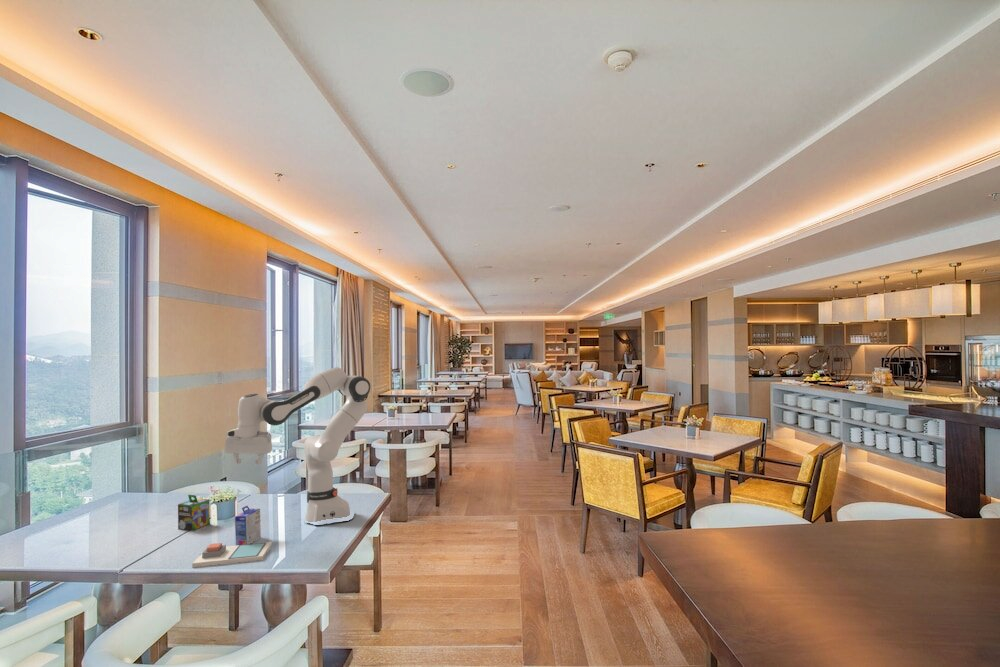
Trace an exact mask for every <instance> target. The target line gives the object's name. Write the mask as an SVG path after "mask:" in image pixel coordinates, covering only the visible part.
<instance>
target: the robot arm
mask: <svg viewBox="0 0 1000 667" xmlns="http://www.w3.org/2000/svg"><path fill="white" fill-rule="evenodd" d="M335 391H338V392H339V393H340V395H342V396H344V397H346V400H345V402H344V404H343V405H342V406H341V407H340V409H338V411H337V412H336V413H335V414H334V415H333V416H332V418H331V419H330V420H329V421H328V422H327V425H326V427H325V429H324V430H323V432H322V434H321V435H320V434H315V435H311V436H309V437H307V439H305V441H304V443H303V450H304V455H305V462H306V470H307V485H308V486H307V491H306V503H307V507H306V513H305V518H304V521H305V520H306V521H308V522H317V521H321V520H326V519H333V518H342V517H347V516H349V515H350V510H351V507H350V504H349V501H347V500H346V499H344V498H343V497H341V496H340V495H338V487H336V488H335V487H334V486H333V485H334V471H333V468H332V465H331V464H332V463H331V461H334V459H336V457H338V453H339V450H340V448H341V446H342V444H343V442H344V441H345V439H346V437H347V436H348V435H349V434H350V432H352V430H353V429H354V427H355V426H356V425H357V424H358V423H359V421H360V420H361V419H362V417H364V414H366V411H367V410H368V402H367V399H368V395H369V393H370V392H371V382H370V381H369V380H368V379H367V378H366V377H364V376H362V375H361V376H360V375H349V374H348V375H347V374H346V372H345V371H344V370H343V369H342V368H341V367H333V368H329V369H326V370H324V371H322V372H319V373H317V374H316V375H314V376H312V377H311V378H310V379H308V380H307V381H305V384H304V388H303V389H302V390H301V391H300V392H298V393H296V394H294V395H293V396H291V397H289V398H288V399H286V400H281V401H276V400H272V399H270V398H269V399H268V398H266V397H264V396H263V395H260V394H259V393H250V394H246V395H243V396H242V397H240V398H239V401H238V406H237V418H238V422H237V428H233V429H231V430H228V431H227V432H225V436H226V438H225V441H224V452H225V453H226V454H232V457H233V459H234V460H235V462H234V463H235V464H236V465H237V464H238V465H239V464H242V458H240V457H239V455H240V454H244V455H245V454H248V455H249V454H250V455H251V454H252V455H253V454H254V455H256V454H257V457H258V458H257V459H256V460H255V465H261V464H262V459H263V458H264V456H265V455H266V454H270V453H272V451H273V442H272V434H271V433H270V432H269V431H261V423H262V422H266V423H267V424H268V425H271V426H279V425H283V423H285V422H286V421H287V420H288V419H289V418H290V417H291V416H292V415H293V414H294V413H295V412H297V411H298V410H300V409H302V408H304V407H305V406H307V405H309V404H310V403H312V402H314V401H317V400H320V399H322V398H324V397H326V396H328V395H330V394H332V393H334V392H335Z"/></svg>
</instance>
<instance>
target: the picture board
mask: <svg viewBox="0 0 1000 667" xmlns="http://www.w3.org/2000/svg"><path fill="white" fill-rule="evenodd" d="M271 545H272V546H273V542H272V541H268V542H267V541H266V542H260V543H259V542H258V543H251V544H246V545H236V544H235V545H227V544H222V548H221V549H220V550H219V551H209V552H207V548H205V550H203V551H202V553H201V554H199V556H198V557H196V559H195V560H194V561H193V562H192V564H191V565H192V568H199V567H200V566H201V567H210V565H211V566H218V564H221V565H227V564H226V563H230V564H237V563H238V562H240V563H246V562H248V561H249V562H257V561H256V560H259V561H263V560H264V559H265V557H266V556H265V555H267V554H268V553H269V551H270V549H271V548H272V546H271ZM270 547H271V548H270ZM269 548H270V549H269ZM268 550H269V551H268ZM267 552H268V553H267ZM266 553H267V554H266ZM263 558H264V559H263Z"/></svg>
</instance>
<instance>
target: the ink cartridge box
mask: <svg viewBox="0 0 1000 667" xmlns="http://www.w3.org/2000/svg"><path fill="white" fill-rule="evenodd" d="M241 509H242V512H241V513H240V514H238V515H236V516H234V525H235V526H234V528H235V529H234V530H235V532H234V533H235V546H236V545H246V544H250V543H251V544H253V543H254V542H255V541H257V540H258V539H260V538H261V537H262V536H261V534H262V533H261V532H262V531H261V529H262V528H261V526H262V525H261V508H249V505H245V506H243V507H242V508H241ZM256 539H257V540H256ZM253 541H254V542H253Z"/></svg>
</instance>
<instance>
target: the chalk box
mask: <svg viewBox="0 0 1000 667" xmlns="http://www.w3.org/2000/svg"><path fill="white" fill-rule="evenodd" d="M187 496H188V500H185V501H183V502H181V503H178V504H177V519H178V520H177V529H178V530H183V531H189V532H193V531H196V530H197V529H200V528H203V527H205V526H208V525H210V524H211V516H210V514H211V512H210V511H211V510H210V499H208V498H197V496H196V495H195V494H188V495H187ZM192 498H193V499H192Z"/></svg>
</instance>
